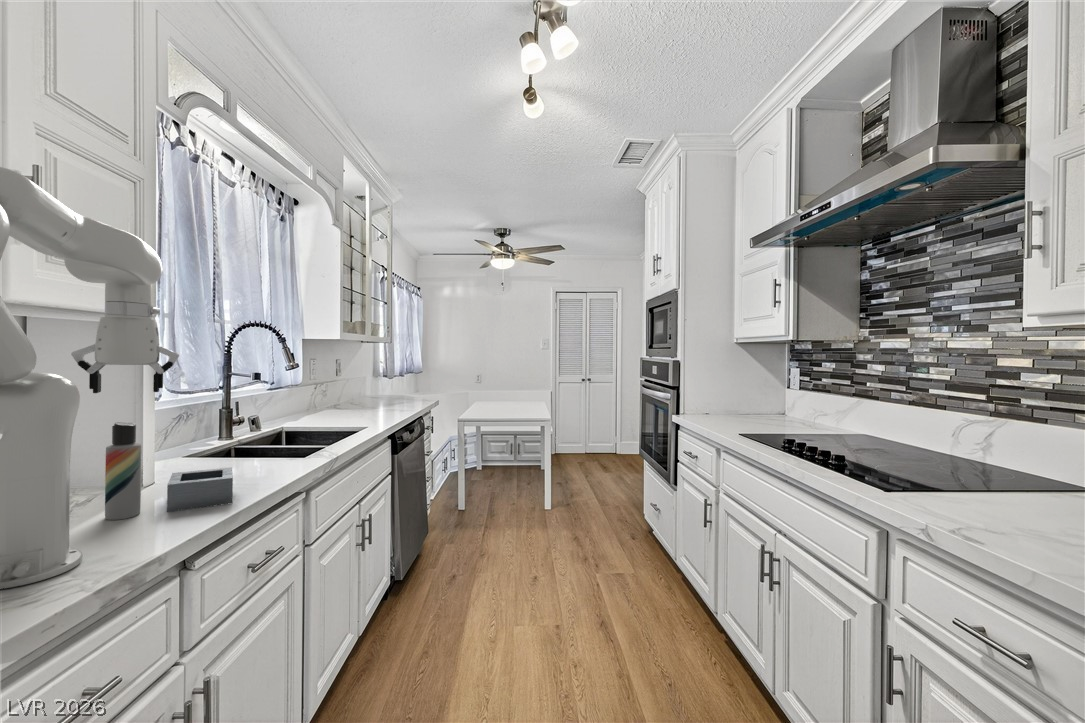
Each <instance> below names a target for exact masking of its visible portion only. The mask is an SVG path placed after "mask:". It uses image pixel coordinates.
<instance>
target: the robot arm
mask: <svg viewBox="0 0 1085 723" xmlns="http://www.w3.org/2000/svg"><path fill="white" fill-rule="evenodd" d="M9 237H11V238H13V239H15V240H17V241H18V242H20V243H22V244H23V245H25V246H27V247H29V248H30V249H33V251H36V252H38V253H41V254H43V255H47V256H49V257H50V256H51V257H55V258H59V259H64V265H65V267H66V269H67V271H68V272H69V273H70V275H72V276H73V277H74V278H76V279H78V280H80V281H82V282H87V283H92V284H93V283H94V284H104V316H101V317H100V319H99V320H98V321H99V322H98V325H97V329H96V337H95V342H94V344H91V345H88V346H86V347H83V348H79V349H77V350H75V351H72V352H71V356H72V359H74V361H75V362H76V363H77V365H78V366H79V367H80V368H81V369H83V370H84V371H85V372H87V373H88V374H89V380H88V381H89V384H88V386H89V390H92V393H93V394H99V393H101V392H102V373H100V370H102V369H103V368H104V367H105V366H107V365H109V366H150V367H151V369H153V371H155V372H154V374H153V382H152V384H153V390H152V391H153V392H154V393H158V392H160V389H163V388H164V374H165V372H167V371H168V370H169V369H171V368H172V367H173V366H174V365H175V364H176V362H177V361H178V359H179V357H180V354H179V353H177V352H175V351H172V350H170V349H168V348H165V347H163V346H161V345H160V336H159V335H160V334H159V327H158V322H157V320H156V319H152V318H153V317H154V316H157V315H158V316H159V315H161V308H157V307H154V306H153V305H152V303H153V300H152V299H153V298H152V296H153V284H156V282H158V281H159V280H160V278H161V277H162V273H163V264H162V261H161V258H160V257H159V255H158V254H157V252H156V251H155V250H154V249H153V248H152V247H151V246H150V245H149V244H147V243H146V242H145V241H143V239H141V237H140V238H139V237H138V236H136V235H135V234H132V233H130V232H127V231H126V230H123V229H120V228H117V227H115V226H113V225H109V224H106V223H103V222H101V221H98V220H96V219H94V218H91V217H87V216H85V215H82V214H79V213H76V212H74V211H73V210H72V209H70V208H69V207H68V206H67V205H65V204H63V203H62V202H61V201H60V200H58V199H56V198H55V197H54V196H52V195H51V194H50V193H48V192H47V191H46V190H45V189H43V188H42V187H40V186H39V185H38V184H37V183H36V182H34V181H32V180H31V179H29V178H28V177H26V176H25V175H23V174H21V173H19V172H17V171H14V170H12V169H9V168H7V167H3V166H0V261H1V259H2V257H3V254H4V252H5V249H6V246H7V245H8V244H7V243H8V240H9ZM35 350H36V349H35V348H34V346H33V344H32V342H31V341H30V339H29V337H28V336H27V335H26V332H24V330H23V329H22V327H21V325H20V324H19V323H18V321H17V319H16V318H15V316H14V315H13V313H12V312H11V311H10V309H9V307H8V306H7V305H6V303H5V302H4V300H3V298H2V296H1V295H0V435H2V436H1V438H0V590H3V588H4V589H9V588H10V589H11V588H15V587H21V586H26V585H29V584H33V583H38V582H42V581H45V580H47V579H50V578H53V577H56V576H59V575H61V574H64V573H67V572H68V571H71V570H72V569H74V568H75V567H77V566H78V565H80V564H81V562H82V560H83V553H82V552H81V551H80V550H78V549H73V548H70V508H71V507H70V504H71V503H70V502H71V499H70V498H71V452H72V451H71V449H72V436H73V433H74V432H73V431H74V427H75V422H76V419H77V415H78V411H79V408H80V400H81V399H80V398H81V397H80V394H81V393H80V391H79V389H78V386H77V385H76V383H74V382H73V381H72V380H71V379H68V378H67V377H65V376H62V375H58V374H54V373H48V372H38V371H35V372H33V370H34V369H35V367H36V365H37V354H36V351H35ZM90 353H94V361H95V363H93V364H91V363H90V362H88V361H87V360H86V358H85V356H86V355H88V354H90ZM161 354H162V355H165V356H167V357H169V359H168V360H167V361H166V362H165V363H164V364H163V365H161V364H160V363H159V362H160V358H161V357H160V355H161Z"/></svg>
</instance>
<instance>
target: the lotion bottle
mask: <svg viewBox="0 0 1085 723" xmlns="http://www.w3.org/2000/svg"><path fill="white" fill-rule="evenodd" d="M111 436H112V437H111V444H110V445H107V446H106V447H105V467H104V468H105V471H104V472H105V474H104V477H105V480H104V482H105V485H104V487H105V488H104V516H105V517H104V518H105V519H106V520H109V521H113V520H114V521H118V520H125V519H129V518H133V517H136V516H138V515H139V514H140V513H141V507H142V506H141V505H142V504H141V501H142V500H141V498H142V495H141V494H142V444H141V443H137V442H136V440H137V423H134V422H123V421H121V422H118V421H117V422H114V424H113V425H112V426H111Z"/></svg>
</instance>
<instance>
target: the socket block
mask: <svg viewBox="0 0 1085 723" xmlns="http://www.w3.org/2000/svg"><path fill="white" fill-rule="evenodd" d="M170 475H171V476H170V478H169V481H168V482H167V488H166V489H167V490H166V491H167V494H166V495H167V496H166V497H167V498H166V512H167V513H170V512H177V511H185V510H192V509H193V508H194V509H200V507H201V508H208V507H207V506H209V507H215V506H214V505H217V506H222V505H221V504H224V505H229V504H228V503H232V504H233V497H234V496H233V488H234V486H233V485H234V483H233V482H234V478H233V476H234V475H233V467H221V468H211V469H201V470H194V471H193V470H190V471H179V472H172V473H171V474H170Z"/></svg>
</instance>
